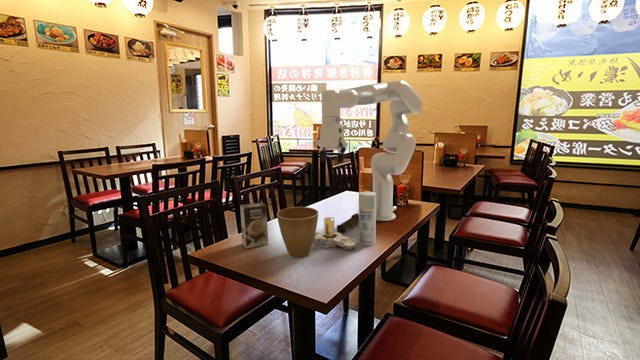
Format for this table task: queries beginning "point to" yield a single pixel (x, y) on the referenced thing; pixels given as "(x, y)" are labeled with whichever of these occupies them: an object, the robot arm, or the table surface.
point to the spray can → (367, 217)
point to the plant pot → (298, 229)
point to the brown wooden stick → (348, 223)
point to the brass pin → (329, 227)
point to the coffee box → (254, 224)
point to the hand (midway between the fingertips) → (331, 161)
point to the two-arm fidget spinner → (335, 241)
